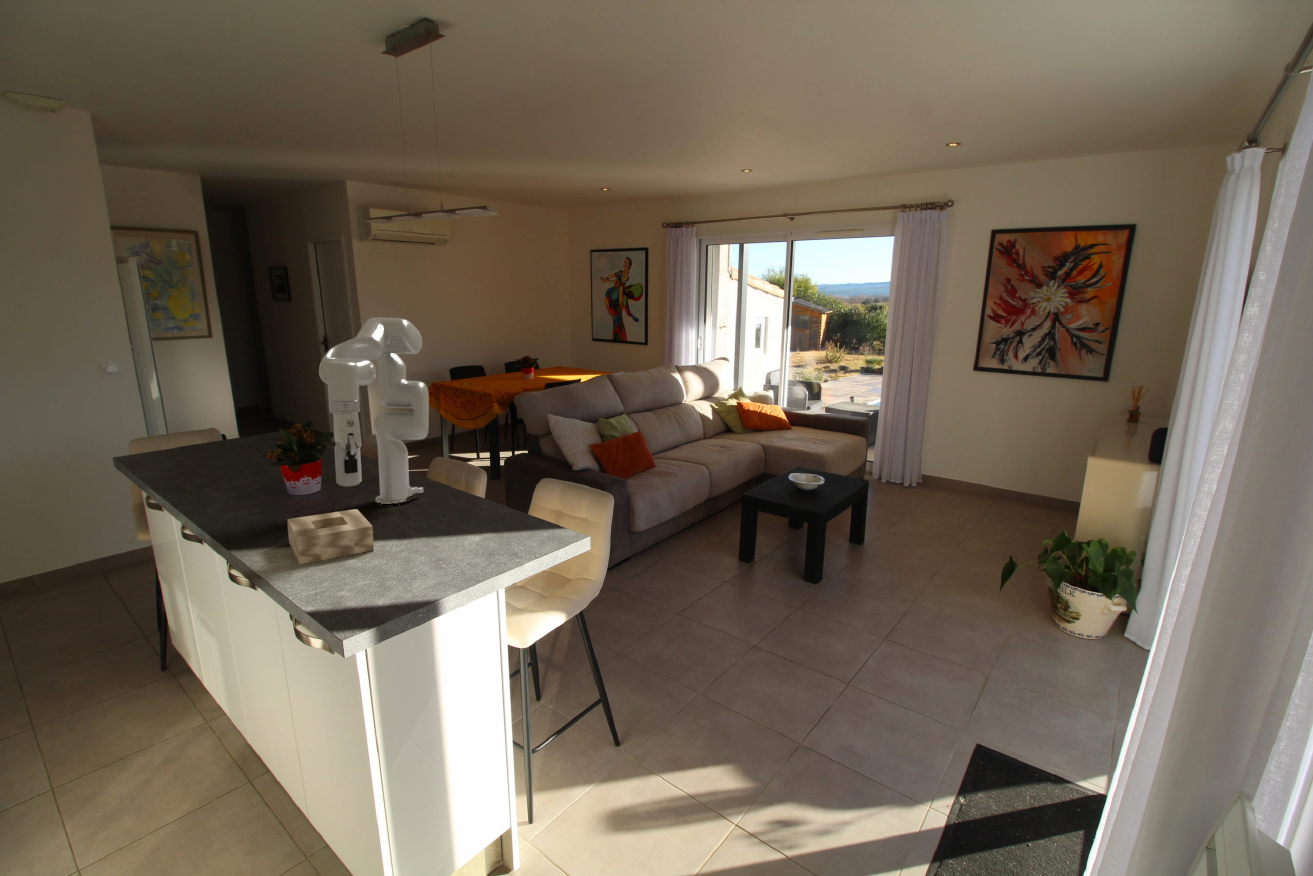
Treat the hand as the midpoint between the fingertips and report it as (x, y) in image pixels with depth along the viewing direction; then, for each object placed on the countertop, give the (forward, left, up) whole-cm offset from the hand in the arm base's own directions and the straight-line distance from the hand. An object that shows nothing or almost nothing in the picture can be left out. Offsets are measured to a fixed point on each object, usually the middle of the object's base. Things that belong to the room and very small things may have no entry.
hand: (348, 469), depth 170 cm
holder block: (+5, 0, -22) cm, 22 cm away
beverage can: (0, 0, -4) cm, 4 cm away
